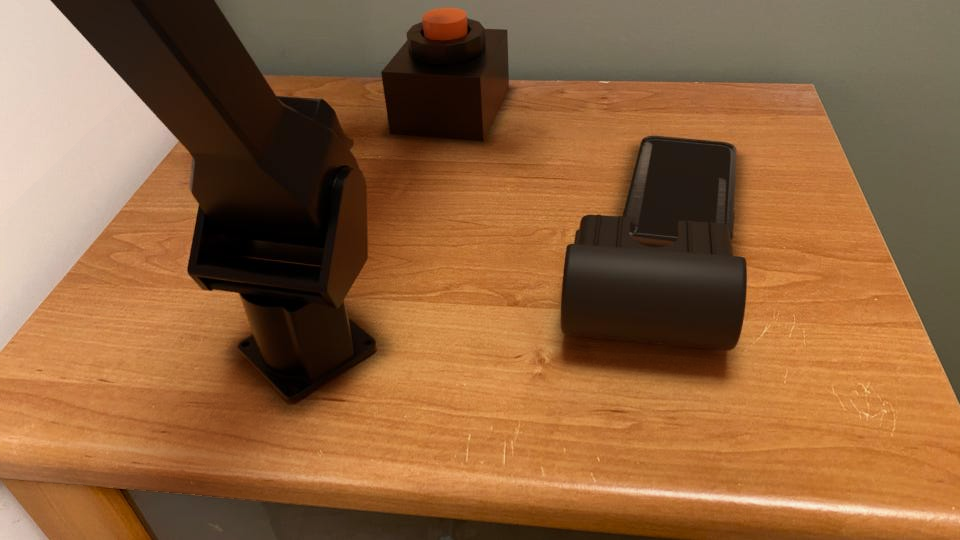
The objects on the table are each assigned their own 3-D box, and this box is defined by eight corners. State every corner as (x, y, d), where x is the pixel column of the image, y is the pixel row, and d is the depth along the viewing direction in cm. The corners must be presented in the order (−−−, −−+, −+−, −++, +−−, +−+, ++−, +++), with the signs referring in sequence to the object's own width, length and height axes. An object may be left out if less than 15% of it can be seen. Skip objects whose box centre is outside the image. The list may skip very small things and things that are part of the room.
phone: (617, 234, 52) (643, 133, 63) (616, 246, 53) (641, 145, 64) (733, 249, 50) (738, 142, 61) (730, 262, 51) (736, 154, 62)
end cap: (558, 362, 44) (560, 276, 40) (570, 287, 50) (573, 204, 45) (730, 380, 42) (751, 292, 38) (722, 300, 48) (741, 215, 43)
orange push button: (461, 44, 64) (460, 24, 63) (418, 42, 65) (416, 22, 64) (472, 27, 67) (471, 8, 66) (431, 25, 68) (429, 6, 67)
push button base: (483, 142, 66) (479, 57, 61) (389, 134, 68) (378, 51, 63) (509, 89, 74) (507, 10, 69) (424, 84, 76) (416, 7, 71)
